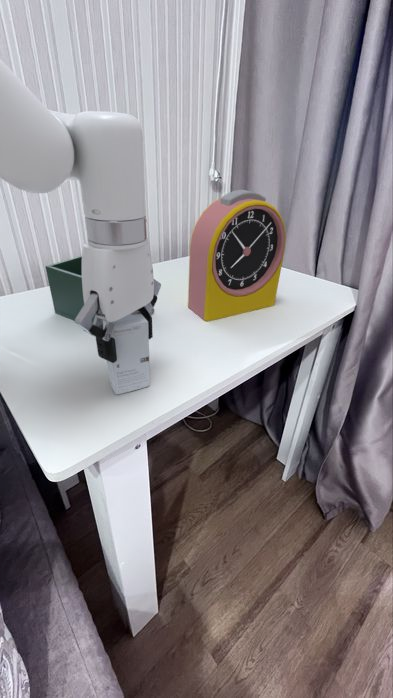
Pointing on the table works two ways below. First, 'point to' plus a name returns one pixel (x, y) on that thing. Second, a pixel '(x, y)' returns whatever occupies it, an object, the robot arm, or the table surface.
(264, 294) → the alarm clock
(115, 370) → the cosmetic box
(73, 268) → the bin
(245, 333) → the table surface
